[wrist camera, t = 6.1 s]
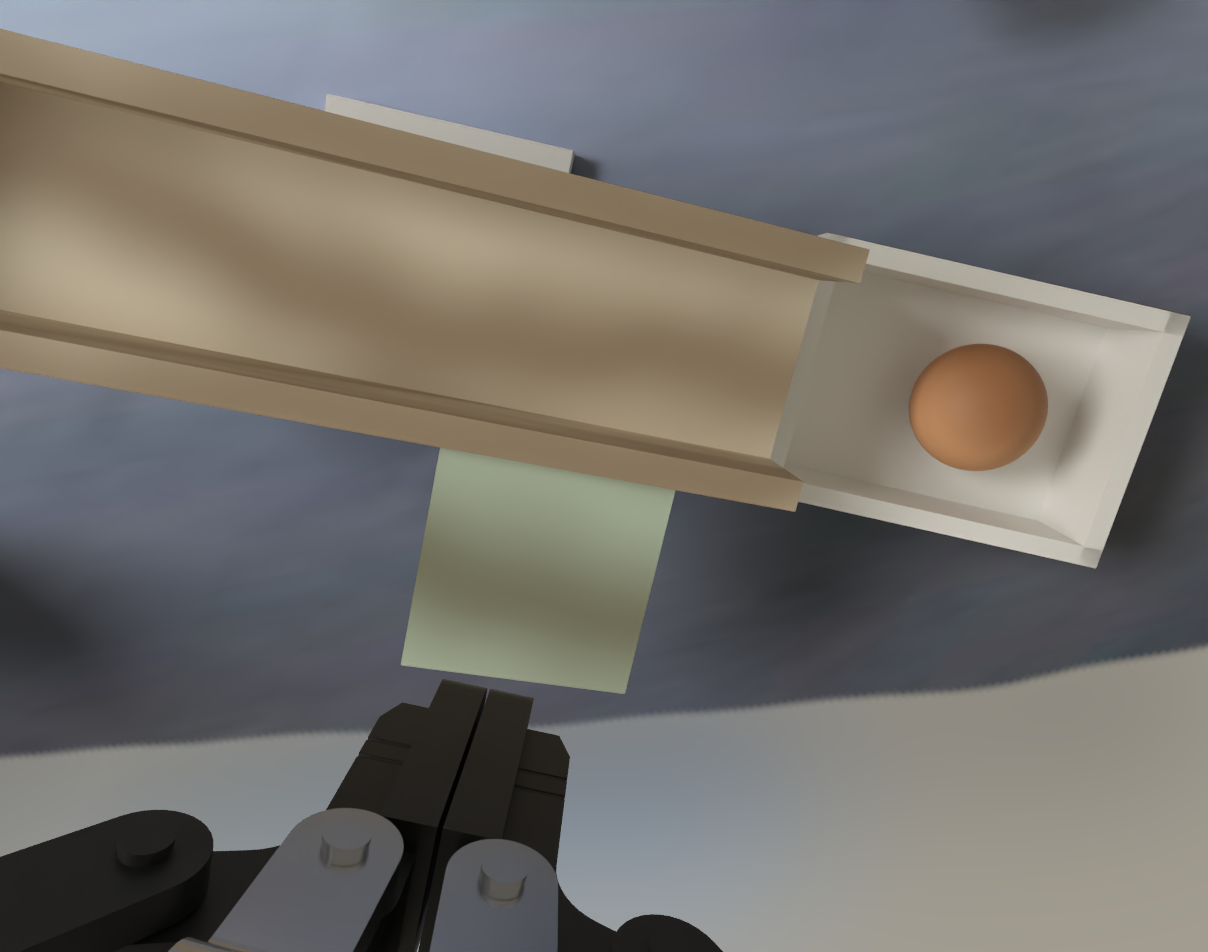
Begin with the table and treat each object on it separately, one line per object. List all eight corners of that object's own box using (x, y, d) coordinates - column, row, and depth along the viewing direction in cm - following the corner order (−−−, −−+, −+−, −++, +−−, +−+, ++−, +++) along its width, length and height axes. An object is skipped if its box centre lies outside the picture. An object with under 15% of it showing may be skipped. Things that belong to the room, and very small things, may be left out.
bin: (802, 239, 27) (827, 232, 24) (1121, 313, 28) (1190, 316, 24) (742, 468, 29) (757, 492, 26) (1041, 536, 29) (1096, 568, 26)
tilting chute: (-122, 25, 20) (-334, -57, 15) (786, 250, 25) (869, 249, 20) (-133, 512, 23) (-315, 589, 18) (686, 631, 28) (735, 720, 22)
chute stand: (335, 99, 27) (247, 41, 21) (574, 154, 27) (558, 113, 21) (294, 396, 29) (203, 425, 23) (515, 446, 29) (485, 488, 23)
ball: (1076, 360, 23) (1058, 360, 27) (928, 328, 24) (931, 332, 28) (1028, 495, 24) (1018, 478, 28) (889, 457, 25) (896, 445, 29)
